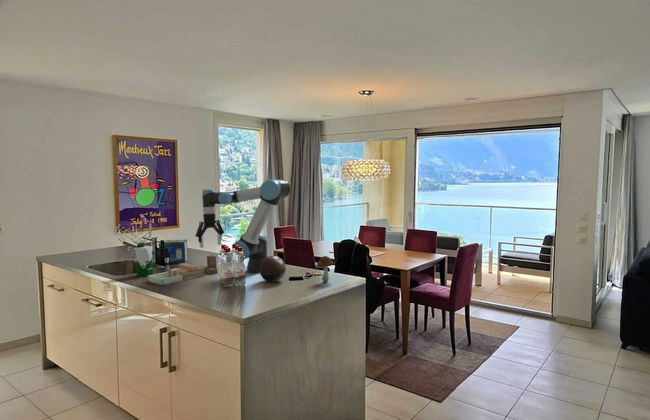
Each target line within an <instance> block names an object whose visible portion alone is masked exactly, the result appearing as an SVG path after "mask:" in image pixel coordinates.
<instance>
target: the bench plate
mask: <svg viewBox="0 0 650 420" xmlns="http://www.w3.org/2000/svg"><path fill="white" fill-rule="evenodd" d="M168 272H169V277H174V276H179V275H182V280H183V281H182V282H184V281H188V280H193V279H196V278H202V277H206V275H205V274H206V273H205V269H204V268H202V267H199V266H198V269H197V270H188V269H183V268H179V266H177V267H175V268H169V269H168Z"/></svg>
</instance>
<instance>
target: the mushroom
mask: <svg viewBox="0 0 650 420" xmlns="http://www.w3.org/2000/svg"><path fill="white" fill-rule="evenodd" d="M316 265H317V267H320V268H322V267H323V273H322V277H321V280H322V282H324V283H327V282H329V277H330V276H329V271H328V269H329V268H328V267H332V266H334V265H335V262H334V261H333V260H332V259H331V258H330V256H328V255H323V256H321V257H320V258H319V260H318V261H317V263H316Z"/></svg>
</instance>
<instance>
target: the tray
mask: <svg viewBox="0 0 650 420" xmlns="http://www.w3.org/2000/svg"><path fill="white" fill-rule="evenodd" d="M147 282H148V283H152V284H155V285H158V286H162V287H163V286H166V285H172V284H176V283H180V282H184V281H183V280H182V275H179V276H174V277H169V271H165V272H160V273H155V274H154V273H153V274H152V275H148V276H147Z"/></svg>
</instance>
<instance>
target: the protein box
mask: <svg viewBox="0 0 650 420" xmlns="http://www.w3.org/2000/svg"><path fill="white" fill-rule="evenodd" d="M163 242H164V245H165V248H167V249H168V252H169V263H168V264H183V263H187V262H188V260H189V254H188V251H189V250H188V239H172V240H171V239H167V240H164V241H163Z"/></svg>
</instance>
